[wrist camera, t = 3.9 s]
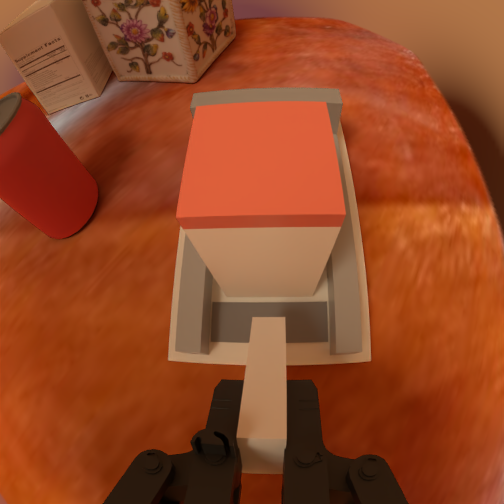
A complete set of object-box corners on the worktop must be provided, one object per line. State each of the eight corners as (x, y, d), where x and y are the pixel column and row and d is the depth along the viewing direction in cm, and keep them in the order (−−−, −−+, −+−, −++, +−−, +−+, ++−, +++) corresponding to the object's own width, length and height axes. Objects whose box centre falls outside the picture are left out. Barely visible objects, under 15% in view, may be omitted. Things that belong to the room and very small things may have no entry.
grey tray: (365, 361, 17) (403, 355, 11) (174, 361, 18) (131, 354, 12) (335, 119, 25) (344, 64, 19) (201, 123, 26) (186, 69, 20)
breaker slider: (311, 296, 18) (346, 214, 9) (226, 297, 18) (175, 217, 9) (308, 220, 19) (325, 101, 10) (230, 221, 20) (196, 106, 11)
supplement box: (69, 76, 34) (30, 4, 20) (120, 59, 33) (85, -25, 19) (46, 116, 30) (-7, 37, 16) (100, 98, 30) (50, 1, 16)
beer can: (91, 165, 25) (26, 74, 14) (111, 211, 23) (26, 110, 12) (40, 205, 24) (-36, 131, 13) (53, 256, 22) (-46, 182, 11)
